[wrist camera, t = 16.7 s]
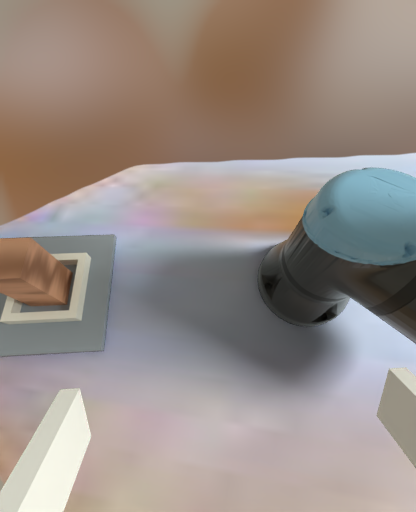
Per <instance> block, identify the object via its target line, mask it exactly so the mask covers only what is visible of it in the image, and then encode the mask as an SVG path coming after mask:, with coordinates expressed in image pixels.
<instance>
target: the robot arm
mask: <svg viewBox="0 0 416 512" xmlns="http://www.w3.org/2000/svg"><path fill="white" fill-rule="evenodd" d="M258 286H259V290H260V293H261V296H262V298H263V300H264V302H265V303H266V305H267V306H268V307H269V308H270V309H271V311H272V312H274V313H275V314H276V315H277V316H278V317H280V318H281V319H283V320H285V321H287V322H289V323H291V324H294V325H298V326H305V327H312V326H318V325H321V324H324V323H326V322H328V321H331V320H332V319H334V318H336V317H337V316H338V315H339V314H340V313H341V312H342V311H343V310H344V309H345V307H346V305H347V303H348V301H349V299H350V298H352V299H353V300H355V301H356V302H358V303H359V304H361V305H362V306H364V307H365V308H366V309H368V310H369V311H371V312H372V313H374V314H375V315H376V316H378V317H379V318H381V319H382V320H383V321H385V322H386V323H388V324H389V325H390V326H392V327H393V328H395V329H396V330H397V331H399V332H400V333H402V334H403V335H404V336H406V337H407V338H409V339H410V340H411V341H413V342H414V343H416V178H414V177H412V176H410V175H408V174H405V173H402V172H399V171H395V170H390V169H384V168H364V169H362V170H350V171H346V172H344V173H341V174H339V175H337V176H335V177H334V178H332V179H331V180H329V181H328V182H327V183H326V184H325V185H324V186H323V187H322V188H321V190H320V191H319V192H318V194H317V195H316V196H315V197H314V198H313V199H312V200H311V201H310V202H309V203H308V205H307V206H306V208H305V210H304V214H303V217H302V218H301V220H300V221H299V223H298V225H297V226H296V228H295V229H294V231H293V232H292V234H291V235H290V237H289V238H288V239H287V240H285V241H283V242H282V243H279V244H278V245H276V246H275V247H273V248H272V249H271V250H270V251H269V252H268V253H267V254H266V256H265V258H264V259H263V261H262V263H261V265H260V268H259V272H258ZM377 417H378V418H379V420H380V421H381V422H382V424H383V425H384V426H385V428H386V429H387V430H388V432H389V433H390V434H391V436H392V437H393V438H394V440H395V441H396V442H397V444H398V445H399V446H400V448H401V449H402V450H403V452H404V453H405V454H406V456H407V457H408V458H409V460H410V461H411V463H412V464H413V465H414V467H415V468H416V376H414V375H413V374H412V373H411V372H410V371H409V370H408V369H407V368H391V369H389V371H388V375H387V378H386V382H385V386H384V390H383V393H382V397H381V401H380V405H379V408H378V412H377ZM90 438H91V434H90V430H89V425H88V421H87V417H86V413H85V409H84V404H83V400H82V396H81V392H80V388H77V389H61V390H60V391H59V393H58V394H57V396H56V398H55V400H54V401H53V403H52V405H51V406H50V408H49V410H48V412H47V413H46V415H45V417H44V418H43V420H42V422H41V423H40V425H39V427H38V429H37V430H36V432H35V434H34V435H33V437H32V439H31V441H30V442H29V444H28V446H27V447H26V449H25V451H24V452H23V454H22V456H21V458H20V459H19V461H18V463H17V464H16V466H15V468H14V469H13V471H12V473H11V475H10V476H9V478H8V480H7V481H6V483H5V485H4V487H3V488H2V490H1V492H0V512H63V511H64V508H65V506H66V503H67V500H68V497H69V495H70V492H71V489H72V487H73V484H74V481H75V479H76V476H77V473H78V470H79V468H80V465H81V462H82V460H83V457H84V454H85V452H86V449H87V446H88V444H89V441H90Z"/></svg>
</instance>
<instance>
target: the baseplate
mask: <svg viewBox="0 0 416 512" xmlns="http://www.w3.org/2000/svg"><path fill="white" fill-rule="evenodd" d="M26 238H32V239H33V240H34V241H36V242H37V243H38V244H39V245H40V246H42V247H43V248H44V249H45V250H46V251H47V252H49V253H50V254H51V255H52V256H53V257H55V258H56V259H57V260H58V261H59V262H60V263H62V264H63V265H64V266H65V267H66V268H67V269H69V270H70V271H71V272H72V273H73V274H72V280H71V285H70V290H69V296H68V301H67V305H52V306H29V305H27V304H25V303H22V302H20V301H18V300H16V299H13V298H11V297H9V296H7V295H4V294H2V293H0V357H7V356H25V355H42V354H60V353H78V352H95V351H104V343H105V334H106V326H107V317H108V308H109V299H110V290H111V281H112V272H113V263H114V254H115V245H116V236H115V235H85V236H56V237H26Z"/></svg>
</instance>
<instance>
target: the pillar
mask: <svg viewBox="0 0 416 512" xmlns="http://www.w3.org/2000/svg"><path fill="white" fill-rule="evenodd" d="M72 274H73V273H72V272H71V271H70V270H69V269H67V268H66V267H65V266H64V265H63V264H62V263H60V262H59V261H58V260H57V259H56V258H55V257H53V256H52V255H51V254H50V253H49V252H47V251H46V250H45V249H44V248H43V247H42V246H40V245H39V244H38V243H37V242H36V241H34V240H33V239H32V238H1V239H0V293H2V294H4V295H7V296H9V297H11V298H13V299H16V300H18V301H20V302H22V303H25V304H27V305H29V306H52V305H67V301H68V296H69V290H70V285H71V280H72Z"/></svg>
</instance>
